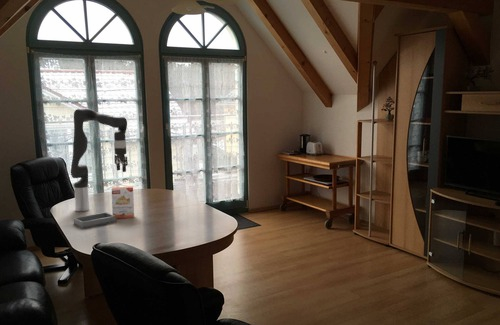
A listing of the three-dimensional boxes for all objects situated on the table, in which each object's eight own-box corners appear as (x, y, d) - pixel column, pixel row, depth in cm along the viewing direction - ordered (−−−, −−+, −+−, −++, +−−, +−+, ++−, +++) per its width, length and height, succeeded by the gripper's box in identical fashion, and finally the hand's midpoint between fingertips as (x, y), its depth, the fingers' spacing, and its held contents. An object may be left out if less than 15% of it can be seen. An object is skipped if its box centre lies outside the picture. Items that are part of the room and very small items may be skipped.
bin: (73, 224, 267) (73, 218, 267) (106, 217, 282) (106, 212, 282) (82, 228, 257) (82, 222, 257) (115, 221, 272) (115, 215, 272)
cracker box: (112, 219, 279) (111, 188, 276) (113, 217, 285) (111, 187, 282) (134, 217, 282) (133, 187, 280) (134, 215, 288) (133, 185, 285)
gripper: (110, 146, 279) (111, 170, 282) (119, 148, 269) (121, 173, 271) (120, 145, 284) (121, 169, 287) (130, 147, 274) (131, 171, 276)
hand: (121, 171), depth 279 cm, fingers open, 8 cm apart
